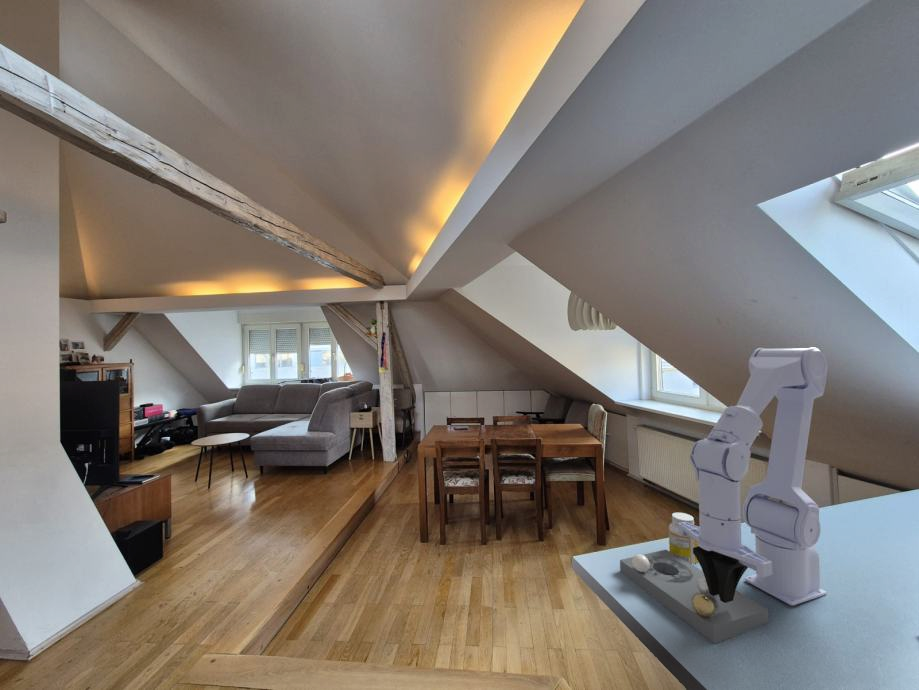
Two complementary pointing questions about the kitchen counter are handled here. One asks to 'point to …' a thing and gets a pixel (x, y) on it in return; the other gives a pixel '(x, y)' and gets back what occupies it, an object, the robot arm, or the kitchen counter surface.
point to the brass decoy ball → (703, 605)
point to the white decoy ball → (640, 563)
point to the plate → (681, 592)
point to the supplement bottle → (682, 539)
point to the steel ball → (704, 588)
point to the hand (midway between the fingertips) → (721, 597)
